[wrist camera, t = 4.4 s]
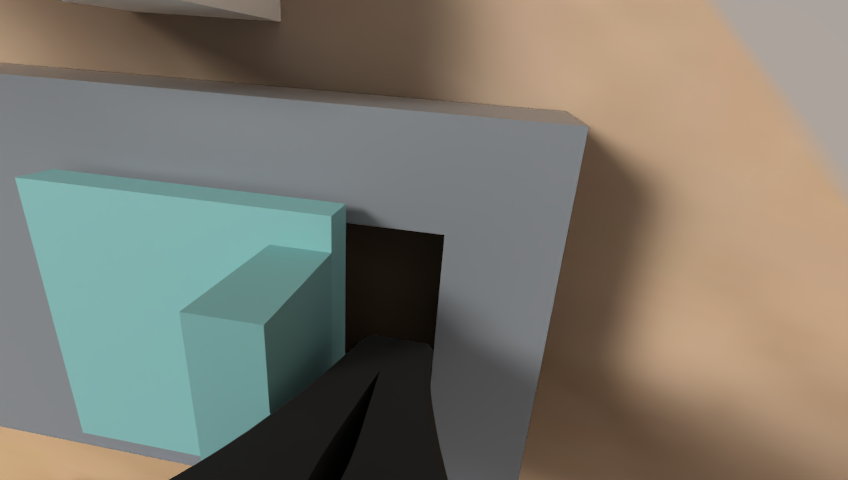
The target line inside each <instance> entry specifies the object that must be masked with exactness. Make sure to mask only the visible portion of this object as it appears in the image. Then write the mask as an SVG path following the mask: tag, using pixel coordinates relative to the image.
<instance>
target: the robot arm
mask: <svg viewBox="0 0 848 480" xmlns="http://www.w3.org/2000/svg"><path fill="white" fill-rule="evenodd" d="M432 352H433V349H432V348H431V347H430V346H429V345H428V343H421V342H415V341H409V340H402V339H396V338H390V337H384V336H377V335H371V334H370V335H368V336H367V337H365V338H364V339H363V340H362V341H361V342H359V343H358V344H357V345H356V346H355V347H354V348H352V349H351V350H350V351H349V352H348V353H347V354H346V355H344V356H343V357H342V358H341V359H340V360H339V361H337V362H336V363H335V364H334V365H333V366H332V367H330V368H329V369H328V370H327V371H326V372H324V373H323V374H322V375H321V376H320V377H318V378H317V379H316V380H315V381H313V382H312V383H311V384H310V385H308V386H307V387H306V388H305V389H303V390H302V391H301V392H300V393H298V394H297V395H296V396H295V397H293V398H292V399H291V400H289V401H288V402H287V403H285V404H284V405H283V406H281V407H280V408H278V409H277V410H276V411H274V412H273V413H272V414H270V415H269V416H267V417H266V418H265V419H263V420H262V421H261V422H259V423H258V424H256V425H255V426H254V427H252V428H251V429H249V430H248V431H247V432H245V433H244V434H242V435H241V436H239V437H238V438H236V439H235V440H233V441H232V442H230V443H229V444H227V445H226V446H224V447H222V448H221V449H219V450H218V451H216V452H215V453H213V454H211V455H210V456H208V457H207V458H205V459H203V460H202V461H200V462H198V463H197V464H195V465H194V466H192V467H190V468H189V469H187V470H185V471H184V472H182V473H180V474H178V475H177V476H175V477H173V478H171V479H170V480H448V478H447V474H446V470H445V466H444V462H443V458H442V453H441V449H440V445H439V440H438V435H437V430H436V424H435V418H434V412H433V406H432V398H431V388H430V373H431V363H432Z"/></svg>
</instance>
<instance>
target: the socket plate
mask: <svg viewBox="0 0 848 480" xmlns="http://www.w3.org/2000/svg"><path fill="white" fill-rule="evenodd" d="M588 128H589V126H587V125H586V124H584V123H583V122H581V121H580V120H578V119H577V118H576V117H574V116H573V115H571V114H570V113H568V112H567V111H557V110H545V109H533V108H522V107H510V106H498V105H487V104H475V103H463V102H452V101H440V100H429V99H417V98H405V97H394V96H382V95H370V94H359V93H347V92H336V91H324V90H312V89H301V88H289V87H277V86H266V85H254V84H242V83H231V82H219V81H208V80H196V79H184V78H173V77H161V76H149V75H138V74H126V73H114V72H103V71H91V70H80V69H68V68H56V67H45V66H33V65H21V64H10V63H0V426H2V427H7V428H12V429H16V430H21V431H26V432H31V433H36V434H41V435H46V436H51V437H55V438H60V439H65V440H70V441H75V442H80V443H85V444H90V445H94V446H99V447H104V448H109V449H114V450H119V451H124V452H129V453H133V454H138V455H143V456H148V457H153V458H158V459H163V460H168V461H173V462H177V463H182V464H187V465H192V466H194V465H195V464H197V463H198V462H200V461H201V457H200V456H197V455H192V454H187V453H182V452H177V451H172V450H167V449H162V448H157V447H152V446H147V445H142V444H137V443H132V442H127V441H122V440H118V439H113V438H108V437H103V436H98V435H93V434H88V433H83V431H82V427H81V423H80V419H79V416H78V412H77V408H76V404H75V401H74V397H73V393H72V389H71V386H70V382H69V378H68V375H67V371H66V367H65V363H64V360H63V356H62V352H61V348H60V345H59V341H58V337H57V333H56V330H55V326H54V322H53V318H52V315H51V311H50V307H49V303H48V300H47V296H46V292H45V288H44V285H43V281H42V277H41V274H40V270H39V266H38V262H37V259H36V255H35V251H34V247H33V244H32V240H31V236H30V232H29V229H28V225H27V221H26V217H25V214H24V210H23V206H22V202H21V199H20V195H19V191H18V187H17V184H16V180H15V177H19V176H23V175H28V174H32V173H37V172H41V171H46V170H50V169H58V170H66V171H75V172H83V173H92V174H100V175H108V176H117V177H125V178H134V179H142V180H150V181H159V182H167V183H176V184H184V185H193V186H201V187H209V188H218V189H226V190H235V191H243V192H252V193H260V194H268V195H277V196H285V197H294V198H302V199H311V200H319V201H327V202H336V203H344V204H346V223H352V224H360V225H368V226H376V227H384V228H392V229H400V230H409V231H417V232H425V233H433V234H441V235H444V246H443V257H442V267H441V278H440V289H439V300H438V310H437V321H436V332H435V342H434V353H433V364H432V366H431V373H430V388H431V398H432V406H433V412H434V418H435V424H436V430H437V435H438V440H439V445H440V449H441V453H442V458H443V462H444V466H445V470H446V474H447V478H448V480H518V478H519V473H520V468H521V463H522V458H523V453H524V448H525V443H526V438H527V433H528V428H529V423H530V418H531V413H532V408H533V403H534V398H535V393H536V388H537V383H538V378H539V373H540V368H541V363H542V358H543V353H544V348H545V343H546V338H547V333H548V328H549V323H550V318H551V313H552V308H553V303H554V298H555V293H556V288H557V283H558V278H559V273H560V268H561V263H562V258H563V253H564V248H565V243H566V238H567V233H568V228H569V223H570V218H571V213H572V208H573V203H574V198H575V193H576V188H577V183H578V178H579V173H580V168H581V163H582V158H583V153H584V148H585V143H586V138H587V133H588ZM346 354H347V353H346V352H345V355H346Z"/></svg>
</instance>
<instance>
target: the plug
mask: <svg viewBox="0 0 848 480" xmlns="http://www.w3.org/2000/svg"><path fill="white" fill-rule="evenodd" d="M59 1H66V2H72V3H79V4H85V5H92V6H98V7H105V8H111V9H118V10H124V11H131V12H144V13H159V14H174V15H189V16H204V17H219V18H235V19H250V20H265V21H280V22H281V8H280V0H59Z"/></svg>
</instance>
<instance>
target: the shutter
mask: <svg viewBox="0 0 848 480" xmlns="http://www.w3.org/2000/svg"><path fill="white" fill-rule="evenodd" d="M15 180H16V184H17V187H18V191H19V195H20V199H21V202H22V206H23V210H24V214H25V217H26V221H27V225H28V229H29V232H30V236H31V240H32V244H33V247H34V251H35V255H36V259H37V262H38V266H39V270H40V274H41V277H42V281H43V285H44V288H45V292H46V296H47V300H48V303H49V307H50V311H51V315H52V318H53V322H54V326H55V330H56V333H57V337H58V341H59V345H60V348H61V352H62V356H63V360H64V363H65V367H66V371H67V375H68V378H69V382H70V386H71V389H72V393H73V397H74V401H75V404H76V408H77V412H78V416H79V419H80V423H81V427H82V431H83V433H88V434H93V435H98V436H103V437H108V438H113V439H118V440H122V441H127V442H132V443H137V444H142V445H147V446H152V447H157V448H162V449H167V450H172V451H177V452H182V453H187V454H192V455H197V456H200V457H201V461H202V460H203V459H205V458H207V457H208V456H210V455H211V454H213V453H215V452H216V451H218V450H219V449H221V448H222V447H224V446H226V445H227V444H229V443H230V442H232V441H233V440H235V439H236V438H238V437H239V436H241V435H242V434H244V433H245V432H247V431H248V430H249V429H251V428H252V427H254V426H255V425H256V424H258V423H259V422H261V421H262V420H263V419H265V418H266V417H267V416H269V415H270V414H272V413H273V412H274V411H276V410H277V409H278V408H280V407H281V406H283V405H284V404H285V403H287V402H288V401H289V400H291V399H292V398H293V397H295V396H296V395H297V394H298V393H300V392H301V391H302V390H303V389H305V388H306V387H307V386H308V385H310V384H311V383H312V382H313V381H315V380H316V379H317V378H318V377H320V376H321V375H322V374H323V373H324V372H326V371H327V370H328V369H329V368H330V367H332V366H333V365H334V364H335V363H336V362H337V361H339V360H340V359H341V358H342V357H343V356H344V355H345V278H346V204H344V203H336V202H327V201H319V200H311V199H302V198H294V197H285V196H277V195H268V194H260V193H252V192H243V191H235V190H226V189H218V188H209V187H201V186H193V185H184V184H176V183H167V182H159V181H150V180H142V179H134V178H125V177H117V176H108V175H100V174H92V173H83V172H75V171H66V170H58V169H50V170H46V171H41V172H37V173H32V174H28V175H23V176H19V177H15Z"/></svg>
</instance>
